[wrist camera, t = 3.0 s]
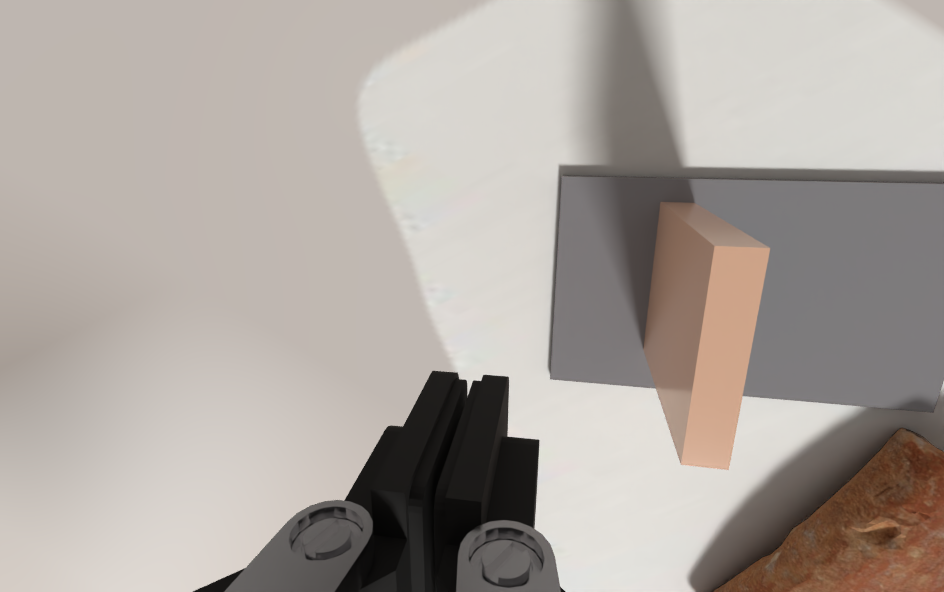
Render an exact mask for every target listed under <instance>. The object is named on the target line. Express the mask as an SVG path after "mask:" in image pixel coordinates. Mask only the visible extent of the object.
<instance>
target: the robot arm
mask: <svg viewBox="0 0 944 592" xmlns="http://www.w3.org/2000/svg"><path fill="white" fill-rule="evenodd" d="M508 397H509V377H505V376H492V375H483V377H482V381H473V383H472V386H471V389H470V392H469V394H468V397H467V381H466V380H460V379H459V376H458V373H454V372H441V371H432V373H431V374H430V376H429V378H428V380H427V382H426V384H425V386H424V388H423V390H422V392H421V394H420V395H419V397H418V399H417V401H416V403H415V405H414V407H413V409H412V411H411V413H410V415H409V416H408V418H407V420H406V422H405V424H404V426H403V427H400V426H388V427H387V428H386V430H385V431H384V433H383V435H382V436H381V438H380V440H379V442H378V444H377V445H376V447H375V448H374V451H373V452H372V454H371V456H370V457H369V459H368V461H367V462H366V464H365V466H364V468H363V469H362V471H361V473H360V474H359V476H358V478H357V480H356V482H355V483H354V485H353V487H352V489H351V490H350V492H349V494H348V496H347V497H346V499H345V500H344V501H342V500H334V501H325V502H321V503H318V504H315V505H311V506H309V507H307V508H306V509H304V510H302V511H300V512H299V513H297V514H296V515H295V516H294V517H293V518H291V519H290V520H289V521H288V522H287V523H286V524H285V525H284V526H283V527H282V528H281V530H280V531H279V532H278V533H277V534H276V535H275V536H274V537H273V538H272V539H271V541H270V542H269V543H268V544H267V545H266V546H265V547H264V548H263V549H262V550H261V552H260V553H259V554H258V555H257V556H256V557H255V558H254V559H253V560H252V562H251V563H250V564H249V565H248V566H247V567H246V568H245V569H242V570H240V571H238V572H236V573H234V574H231V575H229V576H227V577H225V578H222V579H220V580H218V581H216V582H213V583H211V584H209V585H207V586H204V587H202V588H200V589H198V590H196V591H193V592H565V591H564V590H563V589H562V588H561V587H560V584H559V578H558V572H557V567H556V561H555V556H554V553H553V550H552V548H551V545H550V543H549V542H548V541H547V540H546V539H545V537H544V536H543V535H542V534H541V533H539V532H538V531H536V530H535V529H534V526H535V510H536V494H537V476H538V457H539V440H535V439H525V438H515V437H507V431H508Z"/></svg>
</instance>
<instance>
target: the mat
mask: <svg viewBox="0 0 944 592" xmlns="http://www.w3.org/2000/svg"><path fill="white" fill-rule="evenodd" d="M660 202H683V203H696V204H697V205H699V206H701V207H702V208H704V209H706V210H707V211H709V212H711V213H712V214H714V215H716V216H717V217H719V218H721V219H722V220H724V221H726V222H727V223H729V224H731V225H732V226H734V227H736V228H737V229H739V230H741V231H742V232H744V233H746V234H747V235H749V236H751V237H753V238H754V239H756V240H758V241H759V242H761V243H763V244H764V245H766V246H768V247H769V248H770V253H769V258H768V263H767V269H766V274H765V279H764V284H763V290H762V295H761V300H760V306H759V311H758V316H757V322H756V327H755V332H754V338H753V343H752V348H751V353H750V359H749V364H748V369H747V375H746V380H745V385H744V391H743V396H749V397H760V398H772V399H783V400H795V401H806V402H818V403H829V404H841V405H853V406H864V407H876V408H887V409H899V410H910V411H922V412H934V409H935V406H936V403H937V400H938V397H939V393H940V390H941V387H942V384H943V381H944V183H908V182H858V181H808V180H758V179H707V178H657V177H607V176H562V182H561V200H560V217H559V235H558V252H557V270H556V287H555V304H554V322H553V339H552V357H551V374H550V379H553V380H564V381H576V382H587V383H599V384H610V385H622V386H633V387H645V388H656V387H655V384H654V381H653V378H652V375H651V372H650V369H649V366H648V363H647V359H646V356H645V353H644V350H643V347H644V339H645V330H646V321H647V313H648V304H649V296H650V287H651V279H652V270H653V262H654V253H655V245H656V236H657V228H658V219H659V211H660Z"/></svg>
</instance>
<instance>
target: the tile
mask: <svg viewBox="0 0 944 592" xmlns="http://www.w3.org/2000/svg"><path fill="white" fill-rule="evenodd" d="M769 253H770V248H769V247H768V246H766V245H764V244H763V243H761V242H759V241H758V240H756V239H754V238H753V237H751V236H749V235H747V234H746V233H744V232H742V231H741V230H739V229H737V228H736V227H734V226H732V225H731V224H729V223H727V222H726V221H724V220H722V219H721V218H719V217H717V216H716V215H714V214H712V213H711V212H709V211H707V210H706V209H704V208H702V207H701V206H699V205H697V204H696V203H683V202H660V211H659V219H658V228H657V236H656V245H655V253H654V262H653V270H652V279H651V287H650V296H649V304H648V313H647V321H646V330H645V339H644V347H643V350H644V353H645V356H646V359H647V363H648V366H649V369H650V372H651V375H652V378H653V381H654V384H655V387H656V390H657V393H658V396H659V399H660V402H661V405H662V408H663V411H664V414H665V417H666V421H667V424H668V427H669V430H670V433H671V436H672V439H673V442H674V445H675V448H676V451H677V454H678V457H679V460H680V463H681V465H689V466H698V467H707V468H717V469H726V470H729V465H730V460H731V454H732V449H733V444H734V438H735V433H736V428H737V423H738V417H739V412H740V407H741V401H742V396H743V391H744V385H745V380H746V375H747V369H748V364H749V359H750V353H751V348H752V343H753V338H754V332H755V327H756V322H757V316H758V311H759V306H760V300H761V295H762V290H763V284H764V279H765V274H766V269H767V263H768V258H769Z"/></svg>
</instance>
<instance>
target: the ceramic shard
mask: <svg viewBox="0 0 944 592" xmlns="http://www.w3.org/2000/svg"><path fill="white" fill-rule="evenodd" d="M713 592H944V452H943V451H941V450H939V449H938V448H936V447H935V446H933V445H932V444H930V443H929V442H928V441H927V440H926V439H925V438H924V437H923V436H921V435H919V434H917V433H915V432H912V431H910V430H907V429H904V428H901V429H899V430H898V431H897V432H896V433H895V434H894V435H893V436H892V437H891V438H890V439H889V440H888V442H887V443H886V444H885V445H884V446H883V448H882V449H881V450H880V451H879V452H878V453H877V454H876V455H875V456H874V457H873V458H872V459H871V460H870V461H869V462H868V463H867V464H866V465H865V466H864V467H863V468H862V469H861V470H860V471H859V472H858V473H857V474H856V475H855V476H854V477H853V478H852V479H851V480H850V481H849V482H848V483H846V484H845V485H844V486H843V487H842V488H841V489H840V490H839V491H838V492H837V493H836V494H834V495H833V496H832V497H831V498H830V499H829V500H828V501H826V502H825V503H824V504H823V505H822V506H821V507H820V508H818V509H817V510H816V511H815V512H814V513H813V514H812V515H811V516H810V517H809V518H808V519H806V520H805V521H803V522H802V523H801V524H799V525H798V526H796V527H794V528H793V529H792V531H791V532H790V533H789V535H788V536H787V538H786V539H785V540H784V542H783V543H782V545H781V546H780V547H779V548H778V549H776V550H775V551H774V552H773V553H772V554H771V555H768V556H765V557H763V558H761V559H760V560H758V561H757V562H755V563H754V564H752V565H751V566H749V567H748V568H747V569H745V570H744V571H742V572H741V573H739V574H738V575H737V576H735V577H734V578H733V579H731V580H730V581H728V582H727V583H726V584H724V585H722V586H720V587H719V588H717V589H716V590H714V591H713Z"/></svg>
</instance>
